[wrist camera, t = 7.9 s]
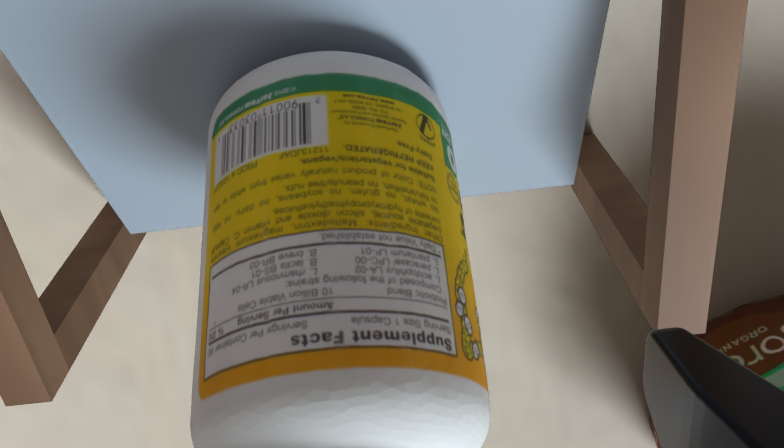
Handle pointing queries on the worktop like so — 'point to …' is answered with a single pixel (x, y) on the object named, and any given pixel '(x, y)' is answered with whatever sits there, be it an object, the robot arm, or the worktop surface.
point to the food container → (750, 340)
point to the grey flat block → (286, 38)
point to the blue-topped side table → (591, 185)
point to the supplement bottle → (335, 266)
